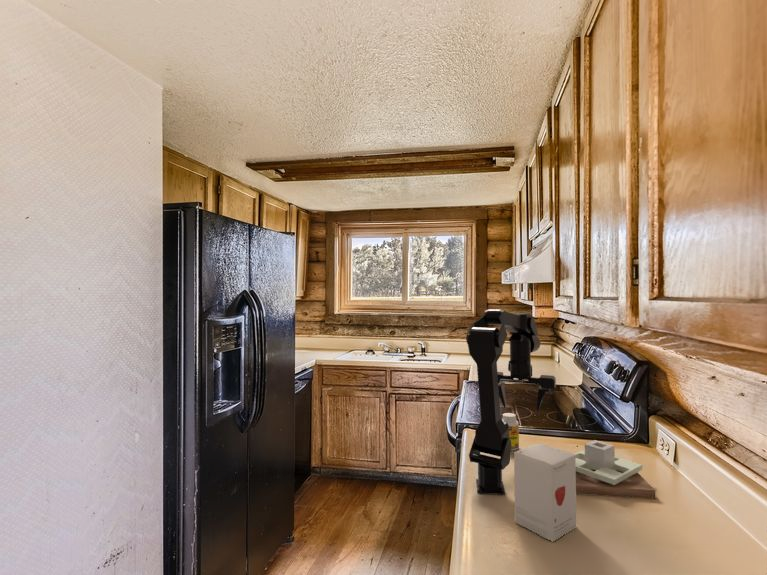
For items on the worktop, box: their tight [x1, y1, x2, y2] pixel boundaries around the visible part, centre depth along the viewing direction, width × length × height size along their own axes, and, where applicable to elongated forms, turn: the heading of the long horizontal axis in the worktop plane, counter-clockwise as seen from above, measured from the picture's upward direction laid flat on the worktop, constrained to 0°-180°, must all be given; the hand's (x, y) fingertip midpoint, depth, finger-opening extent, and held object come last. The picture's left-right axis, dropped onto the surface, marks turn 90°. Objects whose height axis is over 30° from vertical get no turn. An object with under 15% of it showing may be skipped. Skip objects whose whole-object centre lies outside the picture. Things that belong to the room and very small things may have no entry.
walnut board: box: [576, 458, 656, 500], centre depth 106 cm, size 18×18×7 cm
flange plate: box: [574, 439, 643, 485], centre depth 106 cm, size 14×14×6 cm
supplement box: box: [513, 442, 578, 542], centre depth 85 cm, size 9×9×15 cm
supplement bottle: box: [501, 412, 520, 451], centre depth 128 cm, size 6×6×10 cm
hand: (521, 409), depth 121 cm, fingers open, 9 cm apart
